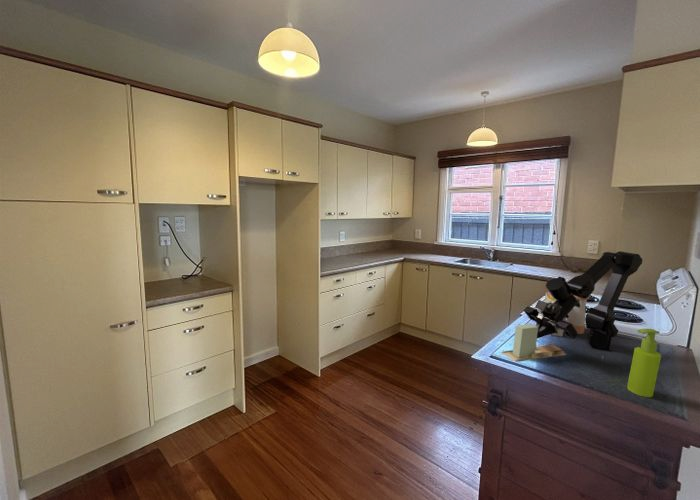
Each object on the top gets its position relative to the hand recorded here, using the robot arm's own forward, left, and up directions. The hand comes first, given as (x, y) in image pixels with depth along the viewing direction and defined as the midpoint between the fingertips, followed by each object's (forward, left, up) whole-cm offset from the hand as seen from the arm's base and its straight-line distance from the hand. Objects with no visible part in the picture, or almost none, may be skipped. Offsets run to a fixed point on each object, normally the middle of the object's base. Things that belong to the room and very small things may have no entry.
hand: (533, 338), depth 116 cm
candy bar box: (-14, -29, -7) cm, 33 cm away
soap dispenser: (-27, +13, -7) cm, 30 cm away
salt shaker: (-24, -34, -7) cm, 42 cm away
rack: (-1, -1, -7) cm, 7 cm away
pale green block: (+3, +2, -6) cm, 7 cm away
